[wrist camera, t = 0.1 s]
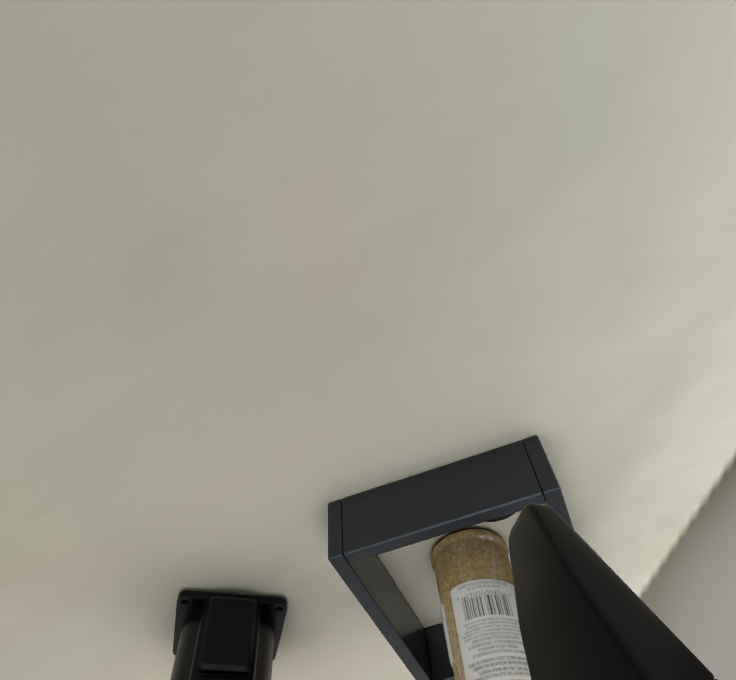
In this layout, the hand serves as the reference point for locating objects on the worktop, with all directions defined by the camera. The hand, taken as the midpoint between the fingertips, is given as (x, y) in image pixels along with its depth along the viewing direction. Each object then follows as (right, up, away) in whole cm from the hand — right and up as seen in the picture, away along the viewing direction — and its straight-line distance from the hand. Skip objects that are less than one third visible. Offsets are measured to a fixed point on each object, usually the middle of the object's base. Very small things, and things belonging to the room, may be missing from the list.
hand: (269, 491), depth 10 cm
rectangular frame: (+8, -10, +25) cm, 28 cm away
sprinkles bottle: (+8, -10, +25) cm, 28 cm away
